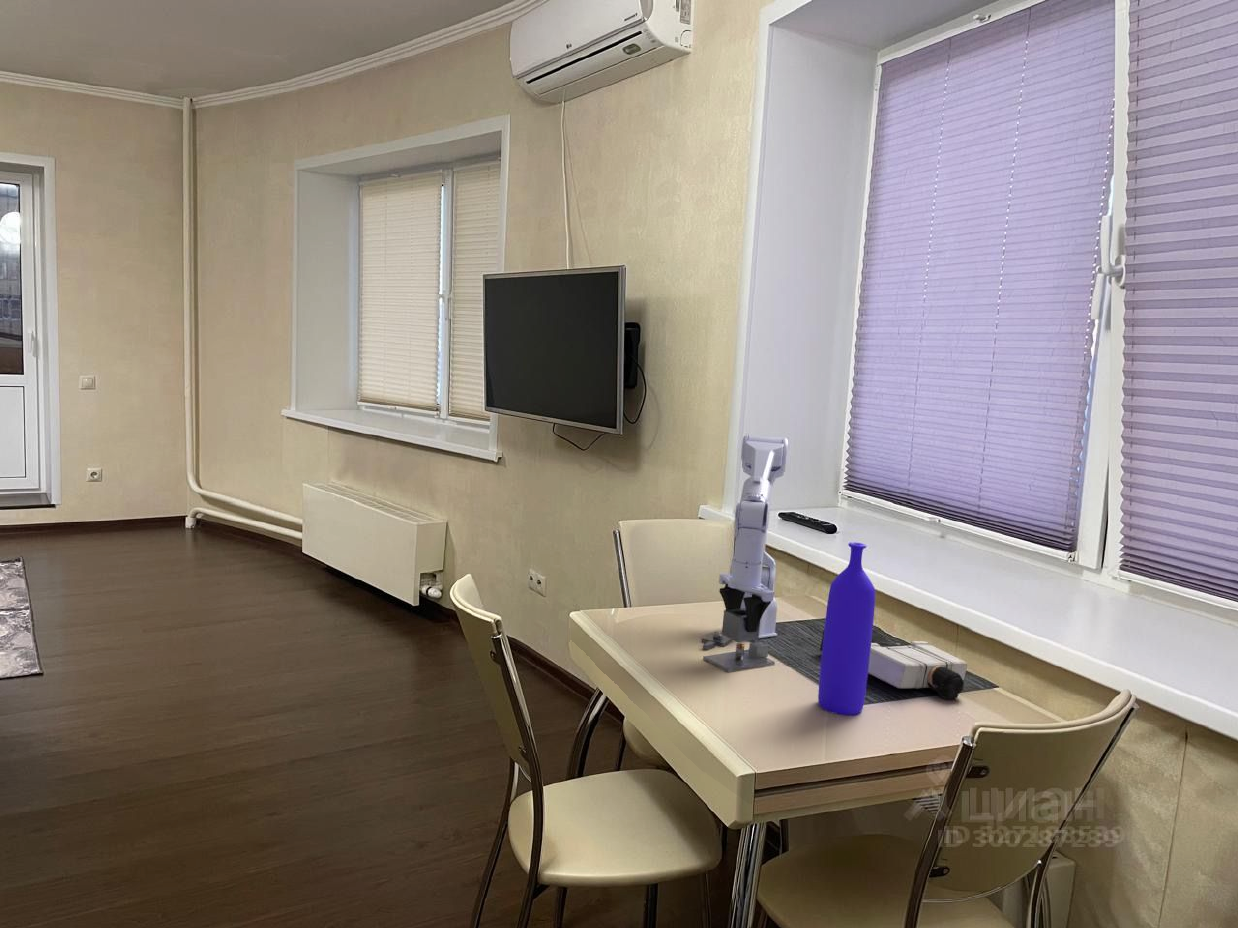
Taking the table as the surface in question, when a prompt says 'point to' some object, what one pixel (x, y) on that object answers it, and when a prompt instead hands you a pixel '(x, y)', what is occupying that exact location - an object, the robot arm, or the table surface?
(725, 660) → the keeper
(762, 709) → the table surface
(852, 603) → the bottle
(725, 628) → the gray hollow cube
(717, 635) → the gray t-shaped latch
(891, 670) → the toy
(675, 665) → the table surface
